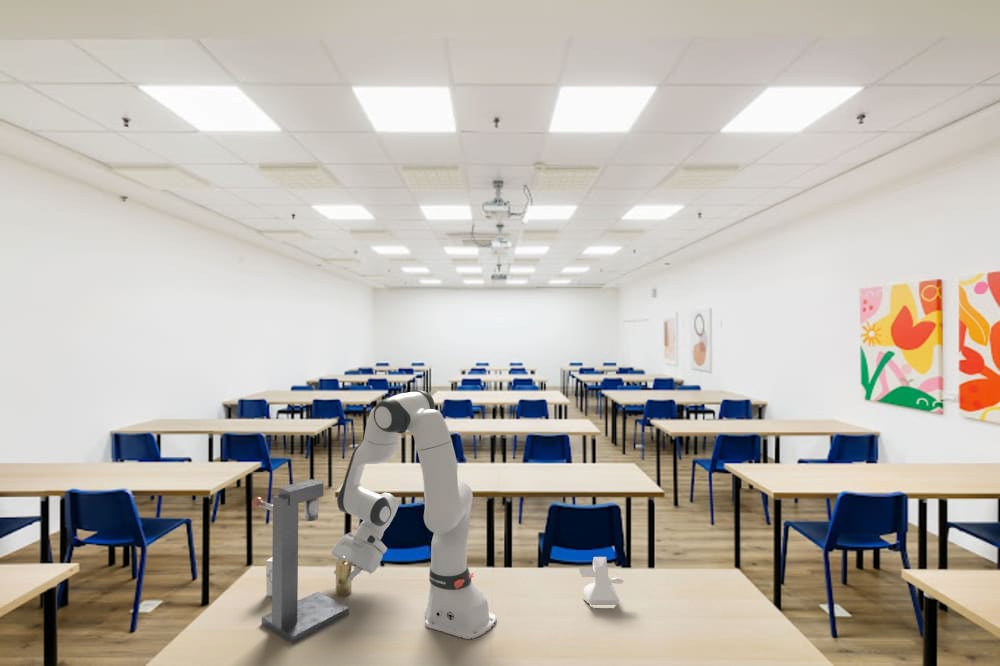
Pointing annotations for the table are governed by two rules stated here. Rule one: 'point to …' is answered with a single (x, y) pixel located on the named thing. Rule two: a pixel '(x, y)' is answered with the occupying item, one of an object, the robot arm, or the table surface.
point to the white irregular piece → (600, 584)
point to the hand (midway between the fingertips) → (342, 577)
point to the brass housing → (343, 577)
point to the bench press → (295, 567)
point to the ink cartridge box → (269, 576)
